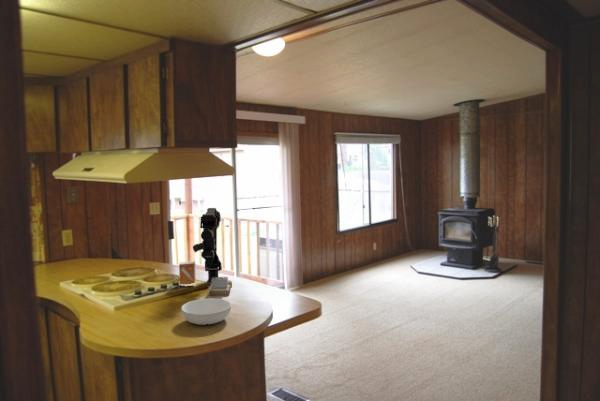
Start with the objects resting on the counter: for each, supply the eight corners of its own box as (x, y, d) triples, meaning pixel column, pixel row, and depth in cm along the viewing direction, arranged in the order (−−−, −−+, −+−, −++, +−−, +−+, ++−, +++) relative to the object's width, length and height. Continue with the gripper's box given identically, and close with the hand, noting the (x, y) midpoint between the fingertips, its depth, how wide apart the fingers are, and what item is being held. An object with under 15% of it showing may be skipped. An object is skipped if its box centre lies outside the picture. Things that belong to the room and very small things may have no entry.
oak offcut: (223, 286, 254) (223, 280, 254) (230, 285, 256) (230, 280, 255) (224, 288, 251) (224, 282, 250) (232, 287, 252) (231, 281, 252)
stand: (211, 290, 245) (211, 285, 245) (230, 289, 246) (230, 284, 246) (209, 296, 236) (209, 290, 235) (229, 295, 236) (229, 289, 236)
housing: (212, 286, 243) (212, 276, 242) (228, 285, 243) (227, 276, 243) (211, 288, 238) (211, 278, 238) (227, 288, 239) (227, 278, 238)
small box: (179, 287, 252) (178, 264, 250) (181, 284, 258) (180, 261, 257) (194, 287, 253) (194, 263, 252) (195, 284, 259) (195, 261, 258)
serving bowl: (173, 329, 190) (173, 312, 190) (192, 312, 211) (192, 297, 210) (223, 331, 187) (222, 314, 187) (237, 313, 208) (236, 298, 207)
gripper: (196, 235, 256) (196, 263, 257) (190, 241, 237) (191, 271, 238) (216, 234, 256) (217, 262, 258) (212, 240, 238) (213, 270, 239)
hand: (209, 266), depth 248 cm, fingers open, 9 cm apart
